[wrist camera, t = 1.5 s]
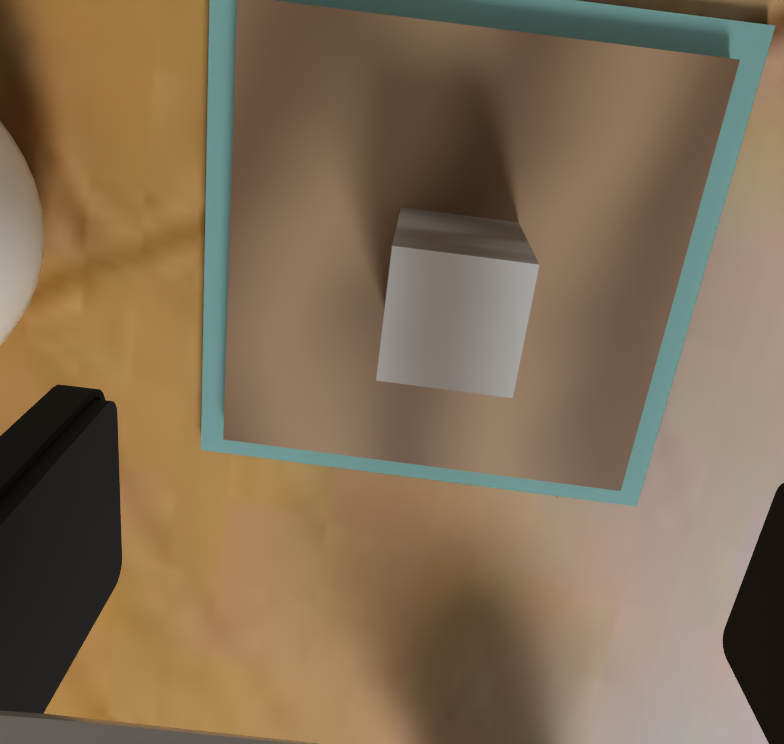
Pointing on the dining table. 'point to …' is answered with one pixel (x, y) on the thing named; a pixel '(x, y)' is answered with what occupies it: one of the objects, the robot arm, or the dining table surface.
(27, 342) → the dining table surface
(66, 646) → the robot arm
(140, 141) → the dining table surface
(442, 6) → the teal mat
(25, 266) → the lidded jar
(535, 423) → the walnut cover
